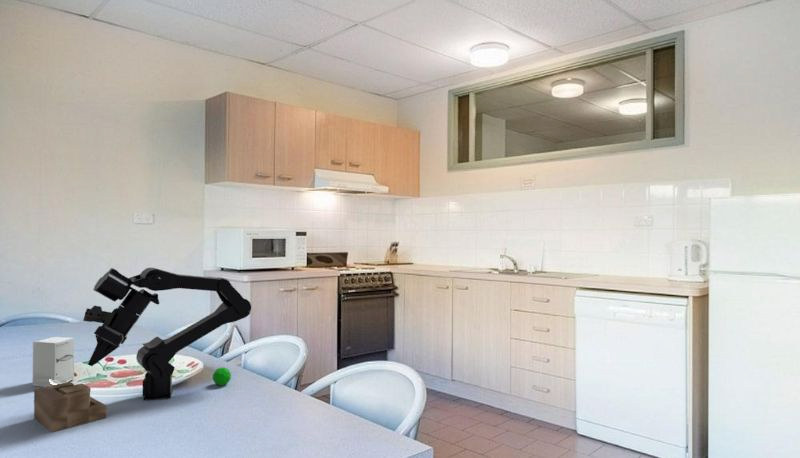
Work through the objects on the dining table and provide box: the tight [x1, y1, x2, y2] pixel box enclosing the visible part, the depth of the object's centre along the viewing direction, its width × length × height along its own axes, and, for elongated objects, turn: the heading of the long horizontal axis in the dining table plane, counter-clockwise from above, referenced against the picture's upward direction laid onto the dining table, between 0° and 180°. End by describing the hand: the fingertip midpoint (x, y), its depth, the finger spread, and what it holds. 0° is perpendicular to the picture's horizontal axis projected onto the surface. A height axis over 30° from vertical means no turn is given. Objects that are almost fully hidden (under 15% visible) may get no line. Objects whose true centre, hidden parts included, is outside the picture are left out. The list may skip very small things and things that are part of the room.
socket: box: [33, 381, 107, 433], centre depth 125 cm, size 11×12×7 cm
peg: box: [59, 383, 91, 406], centre depth 125 cm, size 5×5×7 cm
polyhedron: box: [212, 367, 232, 387], centre depth 151 cm, size 5×5×5 cm
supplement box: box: [32, 336, 75, 388], centre depth 151 cm, size 7×7×13 cm
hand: (89, 365), depth 131 cm, fingers closed
